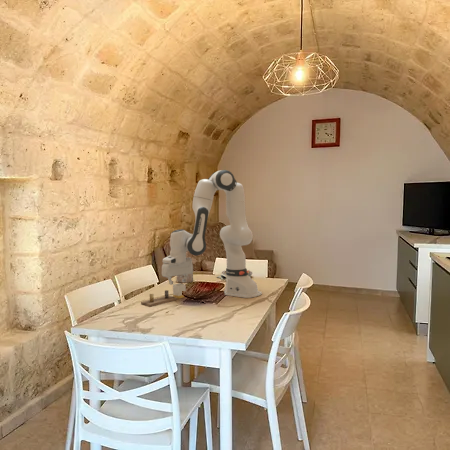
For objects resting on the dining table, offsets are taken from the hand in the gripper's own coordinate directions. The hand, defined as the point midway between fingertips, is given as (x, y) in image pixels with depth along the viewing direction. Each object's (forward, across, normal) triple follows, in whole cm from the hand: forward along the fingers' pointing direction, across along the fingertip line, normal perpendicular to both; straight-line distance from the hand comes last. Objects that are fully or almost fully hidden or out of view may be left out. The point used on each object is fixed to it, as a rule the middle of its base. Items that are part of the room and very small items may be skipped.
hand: (177, 283), depth 225 cm
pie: (+7, -62, -10) cm, 63 cm away
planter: (+8, -30, -28) cm, 42 cm away
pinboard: (+8, +13, 0) cm, 16 cm away
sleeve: (+8, -1, 0) cm, 8 cm away
